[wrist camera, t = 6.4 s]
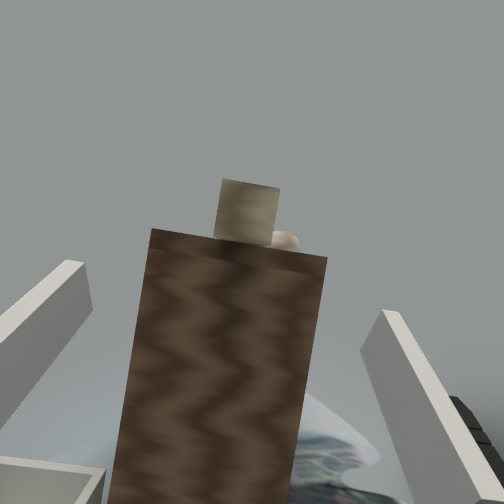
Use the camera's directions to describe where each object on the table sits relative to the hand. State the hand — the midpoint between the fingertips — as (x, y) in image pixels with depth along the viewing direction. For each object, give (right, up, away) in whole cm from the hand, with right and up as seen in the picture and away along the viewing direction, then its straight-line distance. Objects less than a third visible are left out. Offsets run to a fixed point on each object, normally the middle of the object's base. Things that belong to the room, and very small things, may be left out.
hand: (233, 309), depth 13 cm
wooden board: (0, +4, +18) cm, 18 cm away
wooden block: (-6, -30, +24) cm, 39 cm away
